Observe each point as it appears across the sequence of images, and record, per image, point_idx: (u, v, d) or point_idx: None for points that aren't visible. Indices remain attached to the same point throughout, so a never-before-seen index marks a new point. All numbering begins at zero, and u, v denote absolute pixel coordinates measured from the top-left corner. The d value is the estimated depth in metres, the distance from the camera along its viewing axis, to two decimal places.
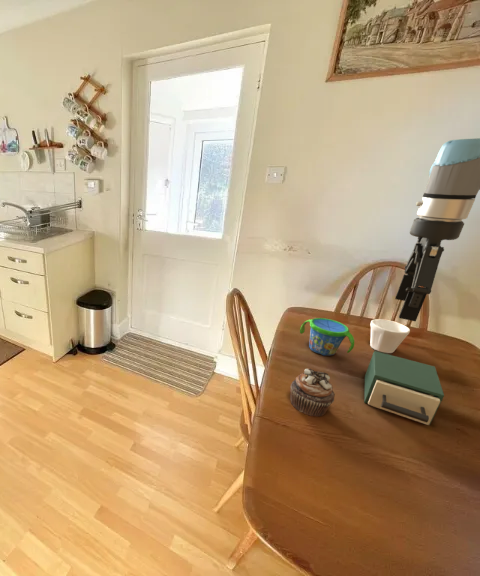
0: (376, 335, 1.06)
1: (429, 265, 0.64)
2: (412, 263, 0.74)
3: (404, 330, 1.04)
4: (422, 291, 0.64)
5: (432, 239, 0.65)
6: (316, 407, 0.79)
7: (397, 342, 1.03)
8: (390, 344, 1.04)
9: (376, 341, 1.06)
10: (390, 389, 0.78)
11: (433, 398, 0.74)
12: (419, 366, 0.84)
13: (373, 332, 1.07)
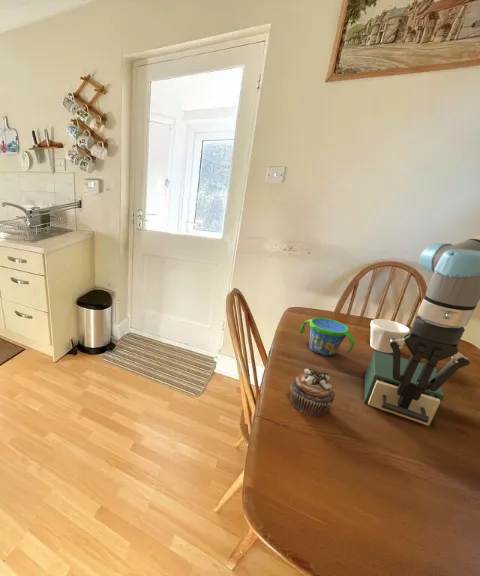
0: (376, 335, 1.06)
1: None
2: None
3: (404, 330, 1.04)
4: None
5: (458, 342, 0.67)
6: (316, 407, 0.79)
7: None
8: None
9: (376, 341, 1.06)
10: (390, 389, 0.78)
11: (433, 398, 0.74)
12: (419, 366, 0.84)
13: (373, 332, 1.07)
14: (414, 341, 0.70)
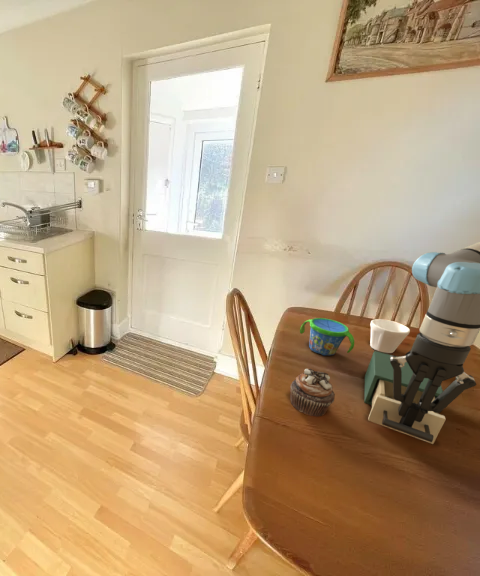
0: (376, 335, 1.06)
1: None
2: None
3: (404, 330, 1.04)
4: None
5: (463, 362, 0.62)
6: (316, 407, 0.79)
7: (397, 342, 1.03)
8: (390, 344, 1.04)
9: (376, 341, 1.06)
10: (392, 405, 0.73)
11: (438, 415, 0.69)
12: None
13: (373, 332, 1.07)
14: (416, 359, 0.66)
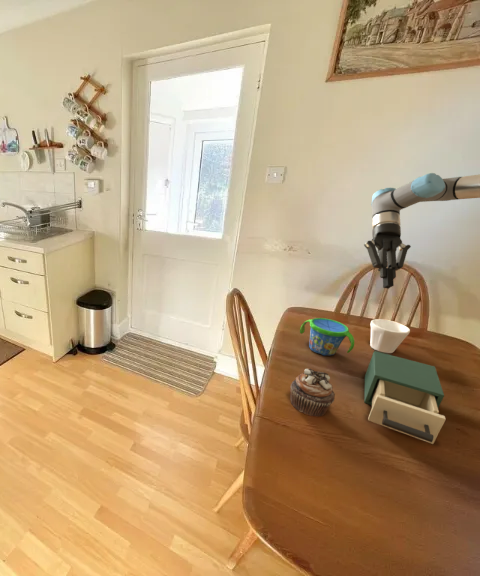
0: (376, 335, 1.06)
1: (370, 252, 1.12)
2: (387, 258, 1.10)
3: (404, 330, 1.04)
4: (375, 264, 1.10)
5: (373, 236, 1.14)
6: (316, 407, 0.79)
7: (397, 342, 1.03)
8: (390, 344, 1.04)
9: (376, 341, 1.06)
10: (392, 405, 0.73)
11: (438, 415, 0.69)
12: (419, 366, 0.84)
13: (373, 332, 1.07)
14: None
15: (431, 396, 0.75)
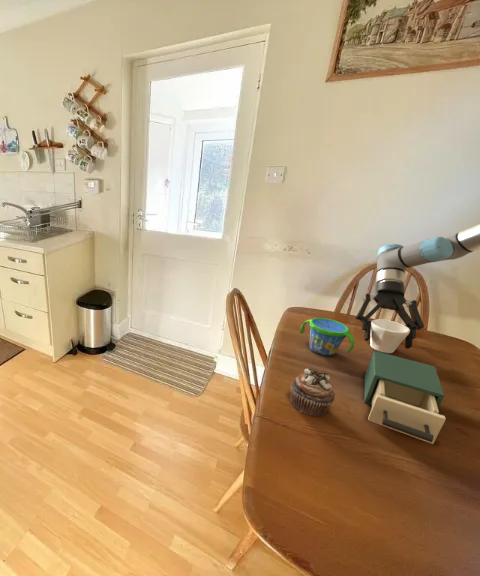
0: (376, 335, 1.06)
1: (362, 304, 1.12)
2: (401, 317, 1.07)
3: (404, 330, 1.04)
4: (356, 316, 1.11)
5: (375, 292, 1.12)
6: (316, 407, 0.79)
7: (397, 342, 1.03)
8: (390, 344, 1.04)
9: (376, 341, 1.06)
10: (392, 405, 0.73)
11: (438, 415, 0.69)
12: (419, 366, 0.84)
13: (373, 332, 1.07)
14: None
15: (431, 396, 0.75)
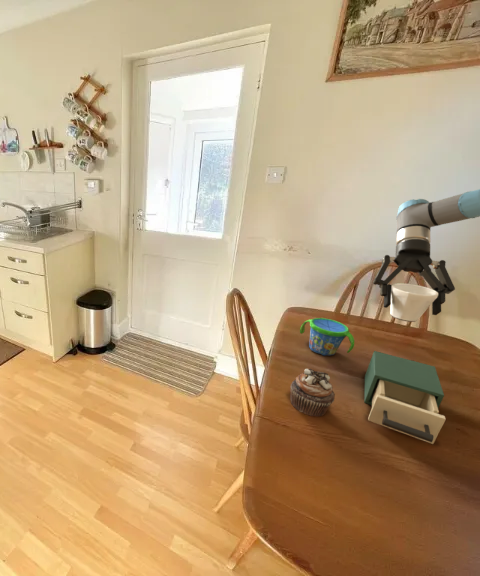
0: (398, 300, 0.91)
1: (381, 267, 0.97)
2: (426, 280, 0.92)
3: (431, 294, 0.89)
4: (374, 281, 0.96)
5: None
6: (316, 407, 0.79)
7: (423, 308, 0.88)
8: (415, 310, 0.89)
9: (398, 308, 0.92)
10: (392, 405, 0.73)
11: (438, 415, 0.69)
12: (419, 366, 0.84)
13: (394, 297, 0.92)
14: None
15: (431, 396, 0.75)
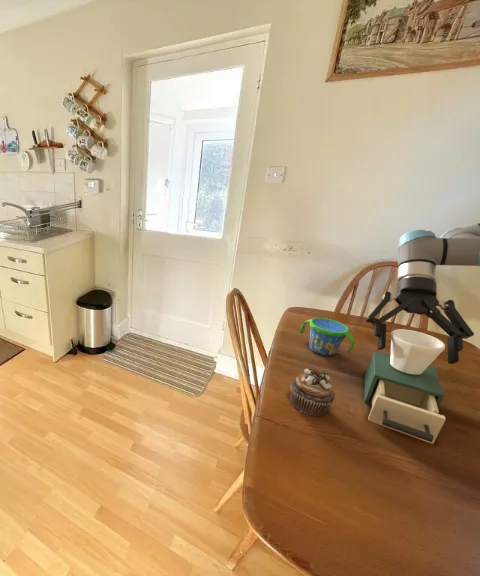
0: (399, 351, 0.80)
1: (378, 304, 0.87)
2: (437, 323, 0.81)
3: (437, 345, 0.79)
4: (367, 318, 0.86)
5: (397, 292, 0.87)
6: (316, 407, 0.79)
7: (428, 361, 0.78)
8: (418, 363, 0.78)
9: (399, 359, 0.81)
10: (392, 405, 0.73)
11: (438, 415, 0.69)
12: None
13: (395, 347, 0.81)
14: None
15: (431, 396, 0.75)
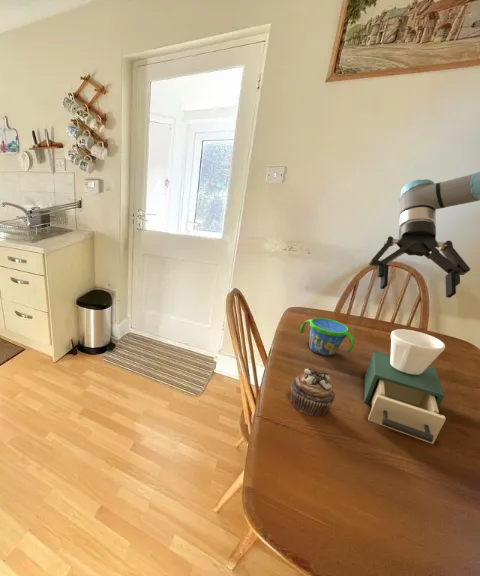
0: (399, 351, 0.80)
1: None
2: (436, 263, 0.87)
3: (437, 345, 0.79)
4: (370, 261, 0.92)
5: (399, 237, 0.93)
6: (316, 407, 0.79)
7: (428, 361, 0.78)
8: (418, 363, 0.78)
9: (399, 359, 0.81)
10: (392, 405, 0.73)
11: (438, 415, 0.69)
12: None
13: (395, 347, 0.81)
14: None
15: (431, 396, 0.75)
